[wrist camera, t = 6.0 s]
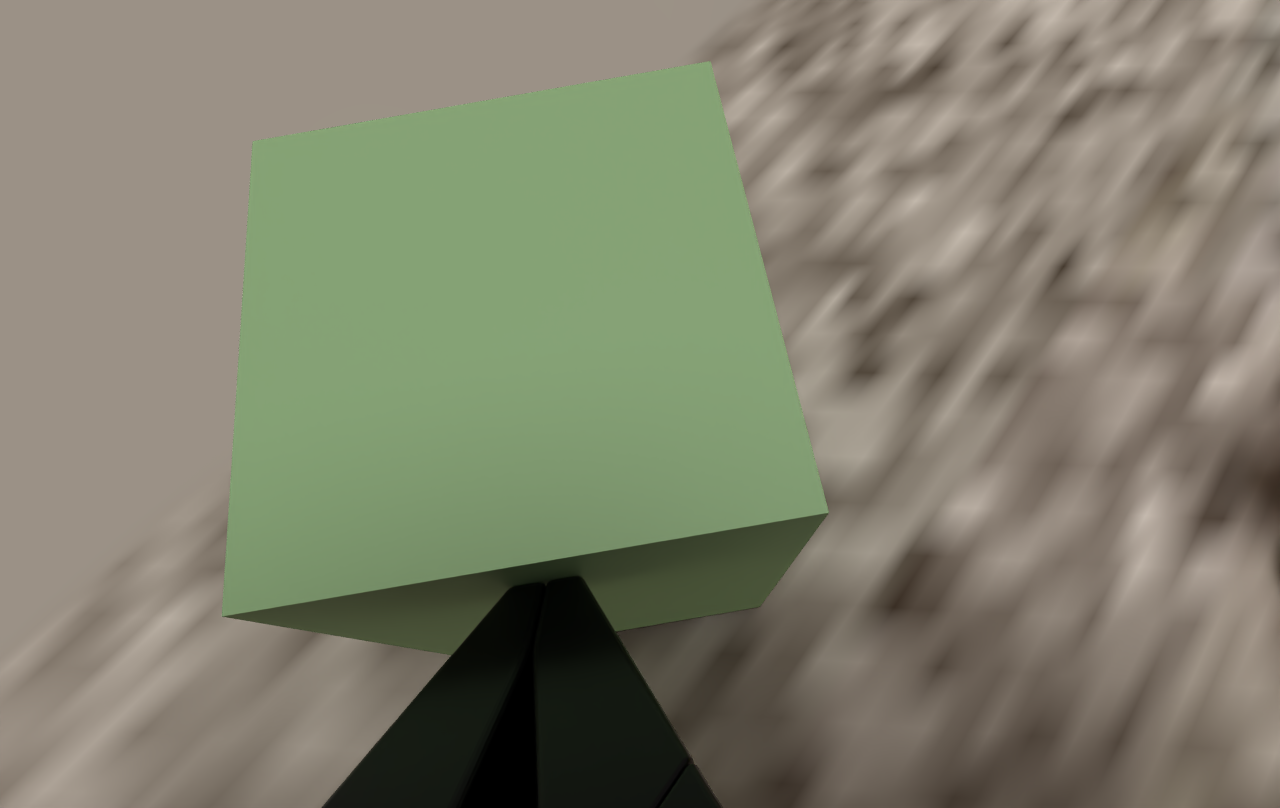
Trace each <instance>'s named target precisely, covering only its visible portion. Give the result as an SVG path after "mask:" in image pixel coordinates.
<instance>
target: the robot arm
mask: <svg viewBox="0 0 1280 808" xmlns="http://www.w3.org/2000/svg"><path fill="white" fill-rule="evenodd" d="M322 808H723V807H722V805H721V804H720V802H719V801H718V799H717V798H716V796H715V795H714V793H713V791H712V790H711V788H710V786H709V785H708V783H707V782H706V780H705V778H704V777H703V775H702V773H701V772H700V770H699V768H698V767H697V765H695V764H694V763H693V759H692V758H691V756H690V754H689V753H688V751H687V749H686V748H685V746H684V744H683V743H682V741H681V739H680V738H679V736H678V734H677V733H676V731H675V729H674V728H673V726H672V724H671V723H670V721H669V719H668V718H667V716H666V714H665V713H664V711H663V709H662V708H661V706H660V704H659V703H658V701H657V699H656V698H655V696H654V694H653V693H652V691H651V690H650V688H649V686H648V685H647V683H646V681H645V680H644V678H643V676H642V675H641V673H640V671H639V670H638V668H637V666H636V665H635V663H634V661H633V660H632V658H631V656H630V655H629V653H628V651H627V650H626V648H625V646H624V645H623V643H622V641H621V640H620V638H619V636H618V635H617V633H616V631H615V630H614V628H613V626H612V625H611V623H610V622H609V620H608V618H607V617H606V615H605V613H604V612H603V610H602V608H601V607H600V605H599V603H598V602H597V600H596V598H595V597H594V595H593V593H592V592H591V590H590V588H589V587H588V585H587V583H586V582H585V580H584V579H583V578H582V577H581V576H573V577H567V578H561V579H556V580H551V581H549V582H548V583H547V585H545V584H544V583H542V582H538V583H532V584H526V585H520V586H514V587H511V588H509V589H508V590H507V591H506V592H505V593H504V595H503V596H502V597H501V598H500V599H499V600H498V602H497V603H496V604H495V605H494V606H493V607H492V609H491V610H490V611H489V612H488V613H487V614H486V616H485V617H484V618H483V619H482V620H481V621H480V623H479V624H478V625H477V626H476V627H475V628H474V630H473V631H472V632H471V633H470V634H469V636H468V637H467V638H466V639H465V640H464V641H463V643H462V644H461V645H460V646H459V647H458V648H457V650H456V651H455V652H454V653H453V654H452V655H451V657H450V658H449V659H448V660H447V661H446V662H445V664H444V665H443V666H442V667H441V668H440V669H439V671H438V672H437V673H436V674H435V675H434V676H433V678H432V679H431V680H430V681H429V682H428V684H427V685H426V686H425V687H424V688H423V689H422V691H421V692H420V693H419V694H418V695H417V696H416V698H415V699H414V700H413V701H412V702H411V703H410V705H409V706H408V707H407V708H406V709H405V710H404V712H403V713H402V714H401V715H400V716H399V717H398V719H397V720H396V721H395V722H394V723H393V724H392V726H391V727H390V728H389V729H388V730H387V732H386V733H385V734H384V735H383V736H382V737H381V739H380V740H379V741H378V742H377V743H376V744H375V746H374V747H373V748H372V749H371V750H370V751H369V753H368V754H367V755H366V756H365V757H364V758H363V760H362V761H361V762H360V763H359V764H358V765H357V767H356V768H355V769H354V770H353V771H352V772H351V774H350V775H349V776H348V777H347V778H346V780H345V781H344V782H343V783H342V784H341V785H340V787H339V788H338V789H337V790H336V791H335V792H334V794H333V795H332V796H331V797H330V798H329V799H328V801H327V802H326V803H325V804H324V805H323V806H322Z"/></svg>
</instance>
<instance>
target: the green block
mask: <svg viewBox="0 0 1280 808" xmlns="http://www.w3.org/2000/svg"><path fill="white" fill-rule="evenodd" d="M248 206H249V207H248V221H247V237H246V251H245V267H244V282H243V298H242V314H241V329H240V344H239V359H238V375H237V390H236V407H235V421H234V436H233V452H232V467H231V483H230V498H229V513H228V529H227V544H226V560H225V575H224V591H223V606H222V617H228V618H234V619H240V620H246V621H252V622H257V623H263V624H269V625H275V626H281V627H287V628H293V629H299V630H305V631H311V632H317V633H323V634H329V635H335V636H341V637H347V638H353V639H359V640H365V641H371V642H377V643H382V644H388V645H394V646H400V647H406V648H412V649H418V650H424V651H430V652H436V653H442V654H448V655H452V654H453V653H454V652H455V651H456V650H457V648H458V647H459V646H460V645H461V644H462V643H463V641H464V640H465V639H466V638H467V637H468V636H469V634H470V633H471V632H472V631H473V630H474V628H475V627H476V626H477V625H478V624H479V623H480V621H481V620H482V619H483V618H484V617H485V616H486V614H487V613H488V612H489V611H490V610H491V609H492V607H493V606H494V605H495V604H496V603H497V602H498V600H499V599H500V598H501V597H502V596H503V595H504V593H505V592H506V591H507V590H508V589H509V588H511V587H514V586H520V585H526V584H532V583H538V582H542V583H544V584H545V585H547V583H548V582H549V581H551V580H556V579H561V578H567V577H573V576H581V577H582V578H583V579H584V580H585V582H586V583H587V585H588V587H589V588H590V590H591V592H592V593H593V595H594V597H595V598H596V600H597V602H598V603H599V605H600V607H601V608H602V610H603V612H604V613H605V615H606V617H607V618H608V620H609V622H610V623H611V625H612V626H613V628H614V630H615V631H621V630H627V629H633V628H639V627H645V626H651V625H656V624H662V623H668V622H674V621H680V620H686V619H692V618H698V617H703V616H709V615H715V614H721V613H727V612H733V611H739V610H744V609H750V608H756V607H760V606H761V605H762V603H763V602H764V601H765V599H766V598H767V596H768V595H769V594H770V592H771V591H772V590H773V588H774V587H775V586H776V584H777V583H778V581H779V580H780V579H781V577H782V576H783V575H784V573H785V572H786V571H787V569H788V568H789V566H790V565H791V564H792V562H793V561H794V560H795V558H796V557H797V556H798V554H799V553H800V551H801V550H802V549H803V547H804V546H805V545H806V543H807V542H808V541H809V539H810V538H811V536H812V535H813V534H814V532H815V531H816V530H817V528H818V527H819V525H820V524H821V523H822V521H823V520H824V519H825V517H826V516H827V515H828V513H829V511H828V507H827V504H826V500H825V496H824V492H823V488H822V485H821V481H820V477H819V473H818V469H817V466H816V462H815V458H814V454H813V450H812V446H811V443H810V439H809V435H808V431H807V427H806V424H805V420H804V416H803V412H802V408H801V405H800V401H799V397H798V393H797V389H796V386H795V382H794V378H793V374H792V370H791V367H790V363H789V359H788V355H787V351H786V348H785V344H784V340H783V336H782V332H781V328H780V325H779V321H778V317H777V313H776V309H775V306H774V302H773V298H772V294H771V290H770V287H769V283H768V279H767V275H766V271H765V268H764V264H763V260H762V256H761V252H760V249H759V245H758V241H757V237H756V233H755V230H754V226H753V222H752V218H751V214H750V210H749V207H748V203H747V199H746V195H745V191H744V188H743V184H742V180H741V176H740V172H739V169H738V165H737V161H736V157H735V153H734V150H733V146H732V142H731V138H730V134H729V131H728V127H727V123H726V119H725V115H724V112H723V108H722V104H721V100H720V96H719V92H718V89H717V85H716V81H715V77H714V73H713V70H712V66H711V62H710V61H709V62H703V63H697V64H692V65H686V66H680V67H674V68H669V69H663V70H657V71H652V72H646V73H640V74H634V75H629V76H623V77H617V78H612V79H606V80H600V81H595V82H589V83H583V84H577V85H572V86H566V87H561V88H555V89H549V90H543V91H537V92H532V93H526V94H521V95H514V96H509V97H503V98H497V99H492V100H486V101H481V102H475V103H469V104H463V105H458V106H452V107H446V108H440V109H434V110H429V111H423V112H417V113H412V114H406V115H400V116H395V117H389V118H383V119H378V120H372V121H366V122H360V123H355V124H349V125H343V126H337V127H332V128H326V129H320V130H314V131H310V132H303V133H297V134H292V135H286V136H281V137H275V138H269V139H263V140H258V141H253V144H252V159H251V174H250V190H249V205H248Z"/></svg>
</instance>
